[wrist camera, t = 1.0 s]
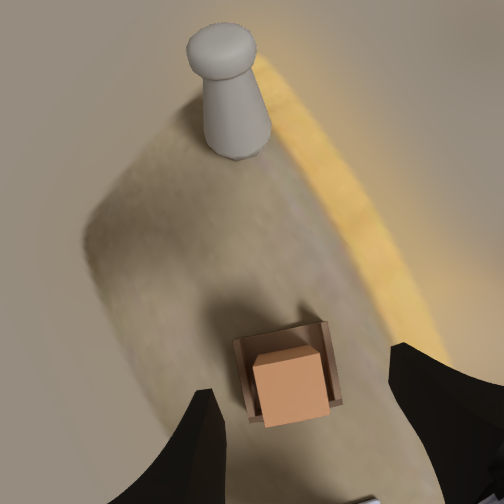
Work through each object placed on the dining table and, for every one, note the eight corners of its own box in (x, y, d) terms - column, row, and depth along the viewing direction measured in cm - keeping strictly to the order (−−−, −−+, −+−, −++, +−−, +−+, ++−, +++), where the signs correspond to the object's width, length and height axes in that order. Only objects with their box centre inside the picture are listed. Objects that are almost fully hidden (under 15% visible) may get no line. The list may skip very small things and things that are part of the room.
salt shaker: (197, 143, 28) (153, 43, 16) (242, 107, 29) (223, 2, 16) (238, 181, 27) (211, 81, 14) (285, 142, 28) (287, 33, 15)
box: (337, 397, 23) (342, 404, 21) (251, 415, 23) (249, 423, 21) (323, 321, 24) (327, 321, 22) (236, 338, 24) (232, 340, 22)
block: (318, 392, 23) (330, 414, 17) (267, 402, 23) (265, 427, 17) (309, 344, 24) (319, 353, 18) (258, 354, 24) (252, 366, 18)
